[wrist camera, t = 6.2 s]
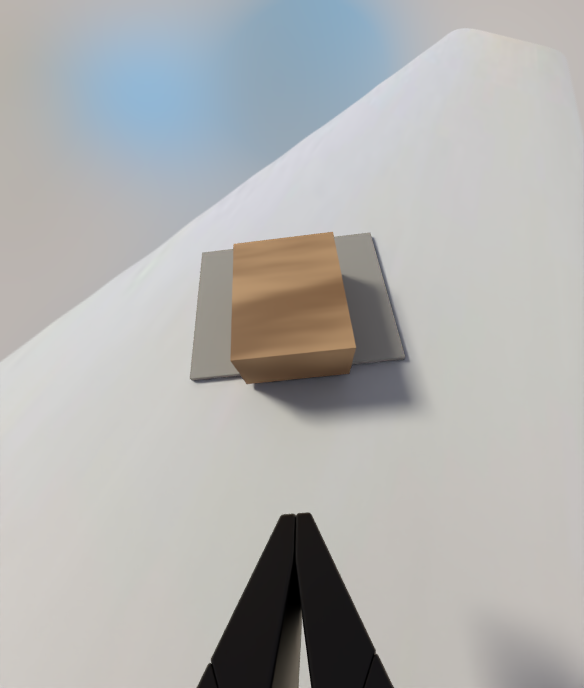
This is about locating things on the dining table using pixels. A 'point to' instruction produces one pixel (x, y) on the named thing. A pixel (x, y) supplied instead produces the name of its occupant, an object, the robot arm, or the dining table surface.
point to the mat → (361, 294)
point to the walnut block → (289, 310)
